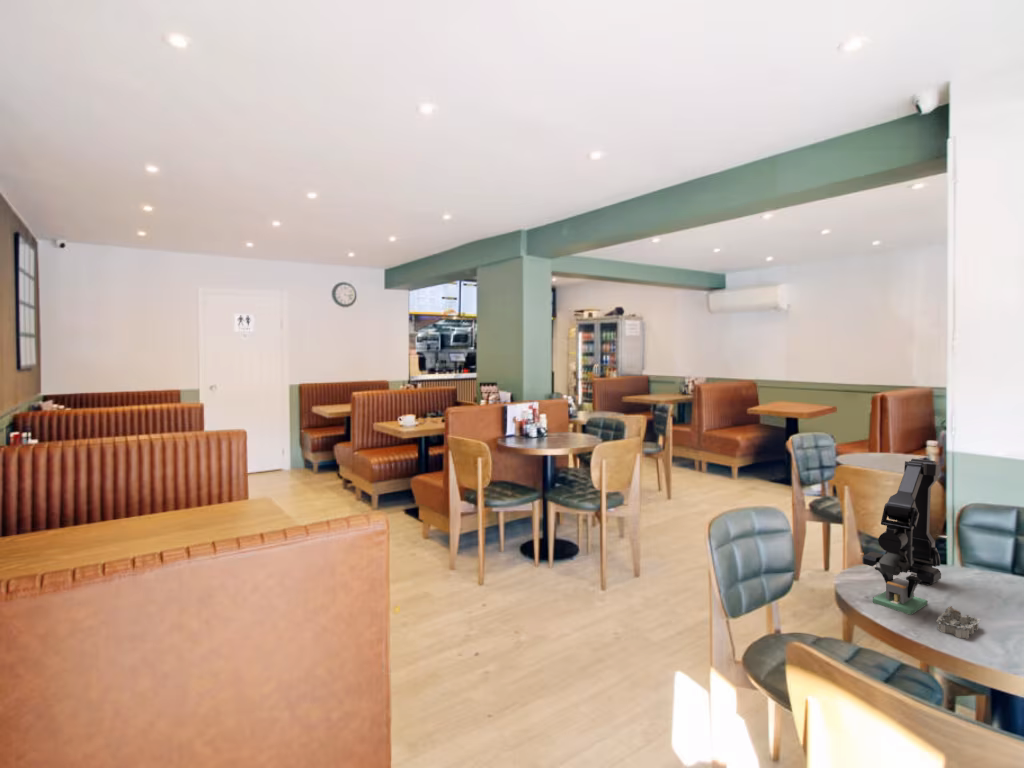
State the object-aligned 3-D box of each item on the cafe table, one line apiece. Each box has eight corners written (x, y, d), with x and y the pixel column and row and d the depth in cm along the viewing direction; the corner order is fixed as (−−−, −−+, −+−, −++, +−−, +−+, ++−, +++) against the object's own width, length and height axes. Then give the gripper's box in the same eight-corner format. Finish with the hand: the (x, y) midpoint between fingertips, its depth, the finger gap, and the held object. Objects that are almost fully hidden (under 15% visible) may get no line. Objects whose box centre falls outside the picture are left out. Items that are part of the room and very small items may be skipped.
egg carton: (950, 619, 156) (950, 604, 156) (983, 630, 150) (983, 615, 150) (932, 629, 151) (932, 615, 151) (965, 641, 144) (966, 626, 144)
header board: (889, 592, 173) (889, 581, 173) (927, 604, 165) (927, 593, 165) (872, 602, 167) (872, 591, 167) (910, 614, 159) (911, 603, 159)
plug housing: (896, 591, 170) (896, 576, 169) (913, 597, 166) (914, 581, 166) (885, 598, 166) (885, 582, 166) (903, 603, 162) (903, 587, 162)
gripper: (853, 540, 168) (853, 590, 169) (925, 559, 153) (924, 614, 154) (871, 533, 174) (870, 581, 175) (942, 549, 159) (941, 602, 160)
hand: (899, 594), depth 166 cm, fingers closed on plug housing, 5 cm apart
